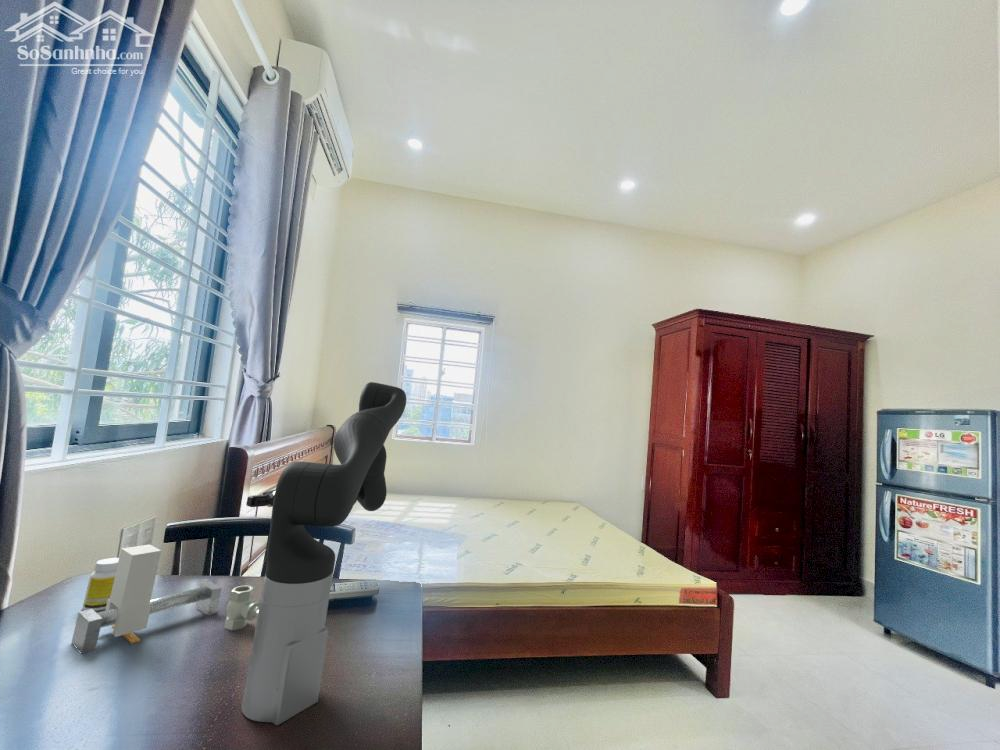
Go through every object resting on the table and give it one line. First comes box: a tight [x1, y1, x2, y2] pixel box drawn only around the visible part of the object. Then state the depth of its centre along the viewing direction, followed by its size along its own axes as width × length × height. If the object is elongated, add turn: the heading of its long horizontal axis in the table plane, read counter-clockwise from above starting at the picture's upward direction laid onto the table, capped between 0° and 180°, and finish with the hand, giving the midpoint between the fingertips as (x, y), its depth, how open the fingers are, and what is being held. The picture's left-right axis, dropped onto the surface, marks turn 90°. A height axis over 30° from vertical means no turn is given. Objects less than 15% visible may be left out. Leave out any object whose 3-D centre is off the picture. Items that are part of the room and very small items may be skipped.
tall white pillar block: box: [104, 544, 162, 638], centre depth 69 cm, size 4×6×13 cm, turn 60°
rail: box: [71, 580, 222, 655], centre depth 71 cm, size 19×9×5 cm, turn 150°
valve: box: [223, 584, 260, 631], centre depth 73 cm, size 7×7×12 cm
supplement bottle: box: [82, 557, 119, 612], centre depth 77 cm, size 5×5×8 cm
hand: (248, 501), depth 85 cm, fingers closed
